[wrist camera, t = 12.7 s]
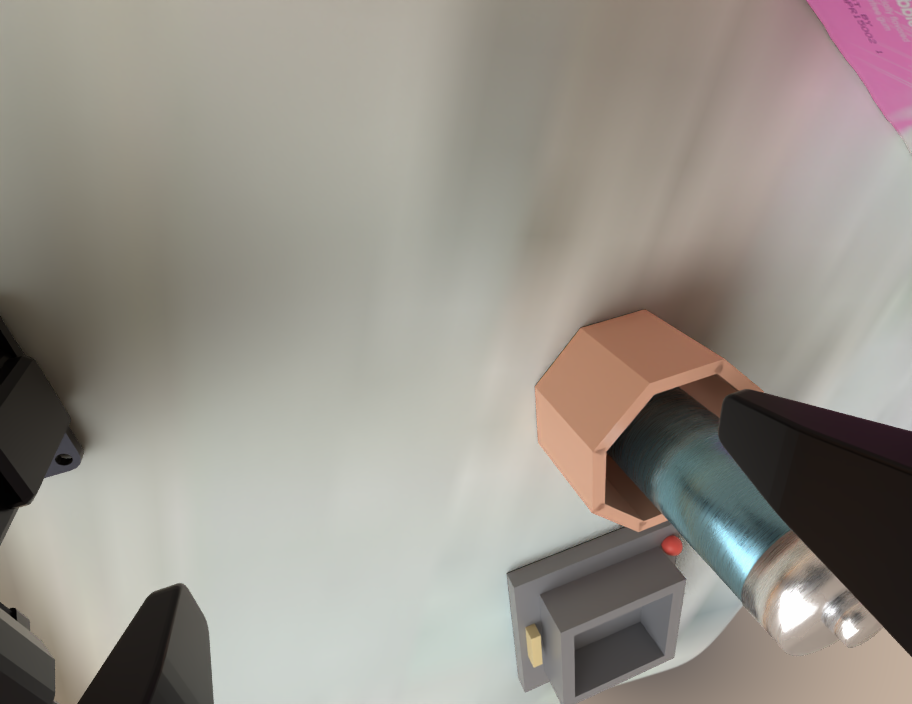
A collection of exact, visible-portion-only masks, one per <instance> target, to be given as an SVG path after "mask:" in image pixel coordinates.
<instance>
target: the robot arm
mask: <svg viewBox="0 0 912 704" xmlns="http://www.w3.org/2000/svg"><path fill="white" fill-rule="evenodd" d="M70 422H71V418H70V416H69V414H68V413H67V411H66V409H65V408H64V406H63V405H62V403H61V401H60V400H59V398H58V396H57V395H56V393H55V392H54V390H53V388H52V387H51V385H50V383H49V382H48V380H47V379H46V377H45V375H44V374H43V372H42V370H41V369H40V367H39V366H38V364H37V362H36V361H35V360H34V359H32V358H30V357H28V356H26V355H24V354H23V352H22V350H21V349H20V347H19V346H18V344H17V342H16V341H15V339H14V338H13V336H12V334H11V333H10V331H9V330H8V328H7V326H6V325H5V323H4V322H3V320H2V318H1V317H0V545H1V543H2V541H3V539H4V537H5V535H6V533H7V531H8V529H9V527H10V525H11V523H12V521H13V519H14V517H15V514H16V512H17V510H18V508H19V507H23V506H26V505H29V504H31V502H32V501H33V499H34V498H35V496H36V494H37V492H38V490H39V488H40V486H41V484H42V481H43V479H44V478H46V477H50V476H53V475H57V474H60V473H64V472H67V471H70V470H73V469H75V468H77V467H78V466H79V465H80V463H81V460H82V458H83V454H84V451H83V448H82V447H81V445H80V443H79V442H78V440H77V439H76V437H75V435H74V434H73V432H72V431H71V429H70V427H69V424H70ZM718 437H719V440H720V442H721V444H722V445H723V447H724V448H725V449H726V451H727V452H728V453H729V454H730V456H731V457H732V458H733V460H734V461H735V462H736V463H737V465H738V466H739V467H740V468H741V470H742V471H743V472H744V474H745V475H746V476H747V477H748V479H749V480H750V481H751V482H752V484H753V485H754V486H755V487H756V489H757V490H758V491H759V493H760V494H761V495H762V496H763V498H764V499H765V500H766V501H767V503H768V504H769V505H770V506H771V508H772V509H773V510H774V511H775V512H776V514H777V515H778V516H779V517H780V518H781V519H782V520H783V521H784V523H785V524H786V525H787V526H788V527H789V528H790V529H791V530H792V531H793V532H794V533H795V534H796V535H797V536H798V537H799V539H800V540H801V541H802V542H803V543H804V544H805V545H806V546H807V547H808V548H809V549H810V550H811V551H812V552H813V553H814V554H815V555H816V556H817V558H818V559H819V560H820V561H821V562H822V563H823V564H824V565H825V566H826V567H827V568H828V569H829V570H830V571H831V572H832V573H833V574H834V575H835V577H836V578H837V579H838V580H839V581H840V582H841V583H842V584H843V585H844V586H845V587H846V588H847V589H848V590H849V591H850V592H851V593H852V594H853V596H854V597H855V598H856V599H857V600H858V601H859V602H860V603H861V604H862V605H863V606H864V607H865V608H866V609H867V610H868V611H869V612H870V613H871V615H872V616H873V617H874V618H875V619H876V620H877V621H878V622H879V623H880V624H881V625H882V626H883V627H884V628H885V629H886V630H887V631H888V632H889V634H891V636H892V637H893V638H894V639H895V640H896V641H897V642H898V643H899V644H900V645H901V646H902V647H903V648H904V649H905V650H906V651H907V653H909V654H910V656H911V657H912V431H908V430H904V429H900V428H896V427H893V426H889V425H885V424H881V423H877V422H874V421H870V420H866V419H862V418H858V417H854V416H851V415H847V414H843V413H839V412H835V411H832V410H828V409H824V408H820V407H816V406H813V405H809V404H805V403H801V402H797V401H793V400H790V399H786V398H782V397H778V396H774V395H771V394H767V393H763V392H759V391H755V390H751V389H743V390H740V391H737V392H734V393H731V394H729V395H727V396H726V397H725V398H724V399H723V402H722V407H721V413H720V420H719V426H718ZM59 454H68V455H70V456H71V457H72V458H67V459H66V458H62V457H61V456H60V455H59ZM54 696H55V659H54V658H53V656H52V655H51V654H50V652H49V651H48V649H47V648H46V646H45V645H44V643H43V642H42V640H41V639H39V638H38V637H37V636H35V635H34V634H33V633H32V632H30V622H29V619H28V618H27V617H26V616H25V615H23V614H22V613H21V612H20V611H18V610H17V609H16V608H10V609H8V608H7V607H6V606H4V605H3V604H2V603H1V602H0V704H59V703H57V702H56V701H55V700H54ZM78 704H214V700H213V685H212V670H211V655H210V640H209V630H208V625H207V621H206V619H205V616H204V615H203V613H202V611H201V610H200V608H199V606H198V604H197V603H196V601H195V599H194V598H193V596H192V594H191V593H190V591H189V589H188V588H187V587H186V586H185V585H184V584H182V583H177V584H174V585H172V586H169V587H166V588H163V589H160V590H157V591H154V592H153V593H151V594H150V595H149V596H148V597H147V598H146V600H145V601H144V603H143V604H142V606H141V607H140V609H139V610H138V612H137V613H136V615H135V617H134V618H133V620H132V621H131V623H130V624H129V626H128V627H127V629H126V630H125V632H124V633H123V635H122V636H121V638H120V639H119V641H118V642H117V644H116V646H115V647H114V649H113V650H112V652H111V653H110V655H109V656H108V658H107V659H106V661H105V662H104V664H103V665H102V667H101V668H100V670H99V671H98V673H97V675H96V676H95V678H94V679H93V681H92V682H91V684H90V685H89V687H88V688H87V690H86V691H85V693H84V694H83V696H82V697H81V699H80V700H79V702H78Z"/></svg>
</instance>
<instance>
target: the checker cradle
mask: <svg viewBox="0 0 912 704" xmlns="http://www.w3.org/2000/svg"><path fill="white" fill-rule="evenodd" d="M679 534H680V533H679V532H678V531H677V530H676V529H675V528H674V526H673V525H672V524H671V523H670V522H669V521H665V522H663V523H660V524H658V525H655V526H653V527H650V528H648V529H645V530H643V531H640V532H637V531H634V530H632V529H630V528H627V527H624V528H621V529H619V530H616V531H614V532H611V533H608V534H606V535H603V536H601V537H598V538H596V539H593V540H591V541H588V542H586V543H583V544H581V545H578V546H575V547H573V548H570V549H568V550H565V551H563V552H560V553H558V554H555V555H553V556H550V557H548V558H545V559H542V560H540V561H537V562H535V563H532V564H530V565H527V566H525V567H522V568H520V569H517V570H515V571H512V572H509V573H507V581H508V590H509V599H510V607H511V616H512V625H513V634H514V643H515V651H516V660H517V669H518V678H519V680H520V683H521V685H522V687H523V689H524V692H528V691H530V690H532V689H534V688H537V687H539V686H541V685H543V684H545V683H548V682H550V683H551V685H552V687H553V689H554V691H555V693H556V695H557V697H558V699H559V701H560V703H561V704H576V703H579V702H581V701H583V700H585V699H587V698H589V697H591V696H594V695H595V694H598V693H600V692H602V691H604V690H606V689H608V688H611V687H613V686H615V685H617V684H619V683H621V682H623V681H626V680H628V679H630V678H632V677H634V676H636V675H638V674H641V673H643V672H645V671H647V670H649V669H651V668H653V667H656V666H658V665H660V664H662V663H664V662H666V661H668V660H671V659H673V658H674V656H675V649H676V642H677V636H678V629H679V623H680V616H681V610H682V603H683V597H684V590H685V583H686V578H685V577H684V576H683V575H682V573H681V572H680V571H679V570H678V569H677V568H676V566H675V564H676V556H677V555H679V554H680V553H681V551H682V548H683V546H682V542H681V540H680V539H679Z"/></svg>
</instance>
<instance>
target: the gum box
mask: <svg viewBox="0 0 912 704" xmlns="http://www.w3.org/2000/svg"><path fill="white" fill-rule="evenodd" d="M806 1H807V2H808V4H809V5H810V7H811V8H812V9H813V11H814V12H815V14H816V15H817V16H818V18H819V19H820V21H821V22H822V23H823V25H824V26H825V28H826V30H827V32H828V34H829V36H830V38H831V39H832V41H833V42H834V43H835V45H836V46H837V47H838V49H839V51H840V52H841V54H842V55H843V56H844V58H845V59H846V60H847V61H848V63H849V64H850V65H851V66H852V67H853V69H854V70H855V71H856V73H857V74H858V76H859V77H860V79H861V80H862V81H863V83H864V84H865V86H866V87H867V89H868V91H869V93H870V94H871V96H872V98H873V100H874V101H875V103H876V104H877V106H878V107H879V108H880V110H881V111H882V113H883V114H884V116H885V118H886V119H887V120H888V121H889V122H890V123H891V124H892V125H893V126H894V128H895V129H896V131H897V132H898V133H899V135H900V136H901V138H902V139H903V141H904V142H905V144H906V146H907V148H908V150H909V151H910V153H911V154H912V0H806Z"/></svg>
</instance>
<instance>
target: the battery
mask: <svg viewBox="0 0 912 704" xmlns="http://www.w3.org/2000/svg"><path fill="white" fill-rule="evenodd" d="M719 420H720V418H719V417H718V416H716V415H715V414H714V413H712V412H711V411H710V410H709V409H707V408H706V407H705V406H703V405H702V404H701V403H699V402H698V401H697V400H696V399H694V398H693V397H692V396H690V395H689V394H688V393H686V392H685V391H684V390H683V389H681V388H680V387H679V386H678V387H675V388H672V389H669V390H666V391H663V392H660V393H657V394H654V396H653V397H652V398H651V399H650V400H649V401H648V403H647V404H646V405H645V406H644V407H643V409H642V410H641V411H640V412H639V413H638V415H637V416H636V417H635V418H634V419H633V421H632V422H631V423H630V424H629V425H628V426H627V428H626V429H625V430H624V431H623V432H622V434H621V435H620V436H619V437H618V438H617V440H616V441H615V442H614V443H613V444H612V446H611V447H610V448H609V449H608V450H607V451H606V452H607V454H608V455H609V456H610V457H611V458H612V459H613V460H614V461H615V462H616V463H617V465H618V466H619V467H620V468H621V469H622V470H623V471H624V472H625V473H626V475H627V476H628V477H629V478H630V479H631V480H632V481H633V482H634V483H635V484H636V486H637V487H638V488H639V489H640V490H641V491H642V492H643V493H644V494H645V495H646V497H647V498H648V499H649V500H650V501H651V502H652V503H653V504H654V505H655V507H656V508H657V509H658V510H659V511H660V512H661V513H662V514H663V515H664V516H665V518H666V519H667V520H668V521H669V522H670V523H671V524H672V525H673V526H674V528H675V529H676V530H677V531H678V532H679V533H680V534H681V535H682V536H683V537H684V539H685V540H686V541H687V542H688V543H689V544H690V545H691V546H692V547H693V549H694V550H695V551H696V552H697V553H698V554H699V555H700V556H701V557H702V558H703V560H704V561H705V562H706V563H707V564H708V565H709V566H710V567H711V568H712V570H713V571H714V572H715V573H716V574H717V575H718V576H719V577H720V578H721V579H722V581H723V582H724V583H725V584H726V585H727V586H728V587H729V588H730V589H731V590H732V592H733V593H734V594H735V595H736V596H737V597H738V598H739V599H740V600H741V602H742V604H743V606H744V607H745V608H746V609H747V610H748V612H749V613H751V615H752V616H753V617H754V618H755V619H756V620H757V621H758V622H759V624H760V625H761V626H762V627H763V628H764V629H765V630H766V631H767V632H768V634H769V635H770V636H771V637H772V638H773V639H774V640H775V641H776V642H777V644H778V645H779V646H780V647H781V648H782V649H783V650H784V651H785V653H787V654H789V655H792V656H803V655H808V654H811V653H814V652H817V651H819V650H822V649H824V648H826V647H828V646H830V645H832V644H834V643H836V642H837V641H839V640H841V641H842V642H843V643H844V644H845V645H846V646H847V647H849V648H853V647H856V646H859V645H861V644H863V643H864V642H866V641H868V640H869V639H871V638H872V637H873V636H874V635H876V634H877V633H878V632H879V631H880V630H881V629H882V628H883V626H882V625H881V624H880V623H879V622H878V621H877V620H876V619H875V618H874V617H873V616H872V615H871V613H870V612H869V611H868V610H867V609H866V608H865V607H864V606H863V605H862V604H861V603H860V602H859V601H858V600H857V599H856V598H855V597H854V596H853V594H852V593H851V592H850V591H849V590H848V589H847V588H846V587H845V586H844V585H843V584H842V583H841V582H840V581H839V580H838V579H837V578H836V577H835V575H834V574H833V573H832V572H831V571H830V570H829V569H828V568H827V567H826V566H825V565H824V564H823V563H822V562H821V561H820V560H819V559H818V558H817V556H816V555H815V554H814V553H813V552H812V551H811V550H810V549H809V548H808V547H807V546H806V545H805V544H804V543H803V542H802V541H801V540H800V539H799V537H798V536H797V535H796V534H795V533H794V532H793V531H792V530H791V529H790V528H789V527H788V526H787V525H786V524H785V523H784V521H783V520H782V519H781V518H780V517H779V516H778V515H777V514H776V512H775V511H774V510H773V509H772V508H771V506H770V505H769V504H768V503H767V501H766V500H765V499H764V498H763V496H762V495H761V494H760V493H759V491H758V490H757V489H756V487H755V486H754V485H753V484H752V482H751V481H750V480H749V479H748V477H747V476H746V475H745V474H744V472H743V471H742V470H741V468H740V467H739V466H738V465H737V463H736V462H735V461H734V460H733V458H732V457H731V456H730V454H729V453H728V452H727V451H726V449H725V448H724V447H723V445H722V444H721V442H720V440H719V437H718V426H719Z"/></svg>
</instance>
